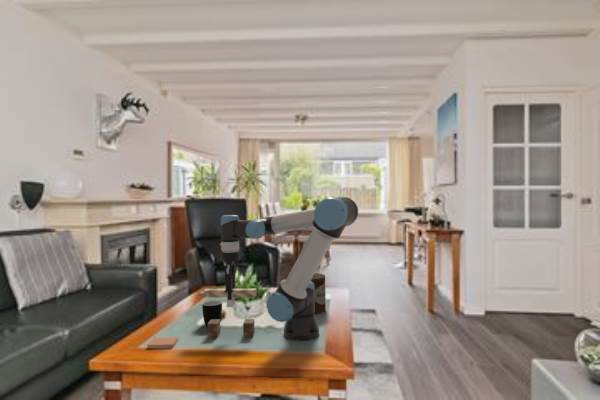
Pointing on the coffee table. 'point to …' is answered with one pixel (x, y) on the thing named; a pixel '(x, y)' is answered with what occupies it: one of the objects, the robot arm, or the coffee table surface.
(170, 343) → the tile
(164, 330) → the coffee table surface
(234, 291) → the beige stone bar
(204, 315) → the mug
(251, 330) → the tool rest
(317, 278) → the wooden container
